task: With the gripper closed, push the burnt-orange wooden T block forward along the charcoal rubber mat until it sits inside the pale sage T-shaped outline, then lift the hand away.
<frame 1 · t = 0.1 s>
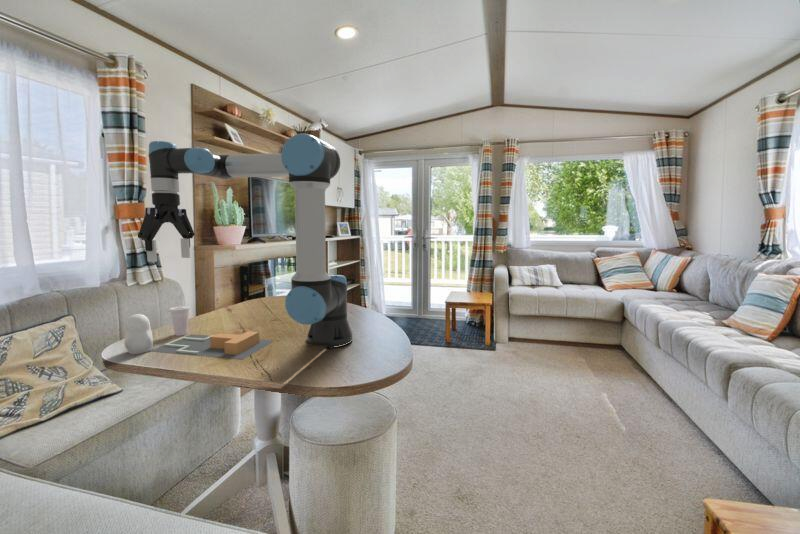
hand: (170, 259, 123), 28 cm above the table, fingers open, 13 cm apart
mat: (214, 348, 121), on the table
figurine: (140, 351, 119), on the table
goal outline: (206, 348, 122), resting on mat
t block: (242, 347, 119), point 1 cm above the table, touching mat
smoothie: (181, 334, 136), on the table
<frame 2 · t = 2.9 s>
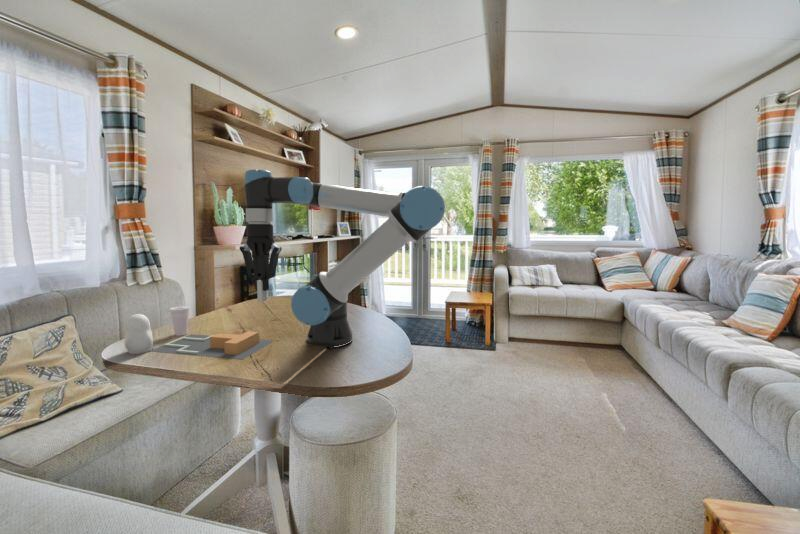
hand: (262, 300, 116), 16 cm above the table, fingers closed
nothing on the table moved.
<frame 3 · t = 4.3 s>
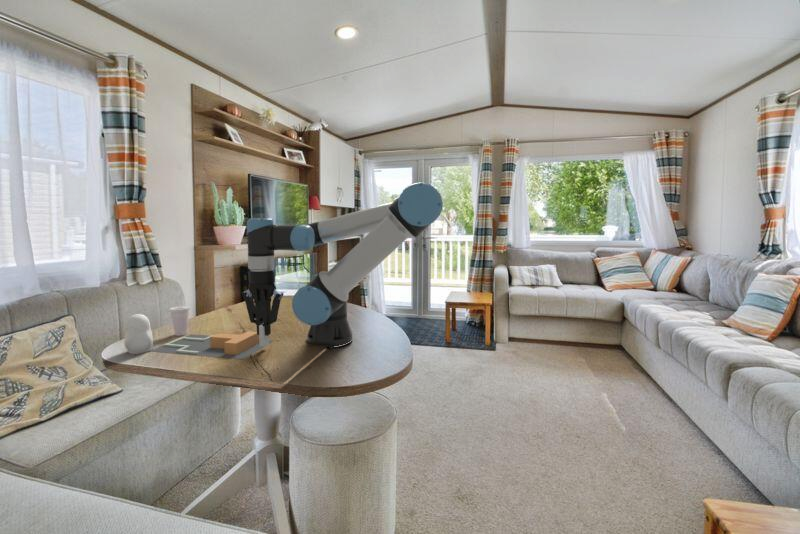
hand: (264, 345, 118), 2 cm above the table, fingers closed
nothing on the table moved.
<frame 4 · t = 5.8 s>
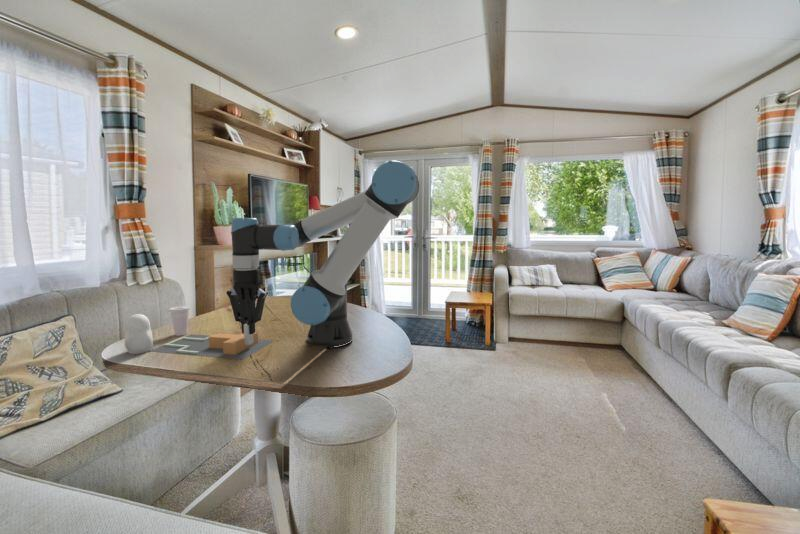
hand: (248, 343, 119), 3 cm above the table, fingers closed
t block: (241, 347, 119), point 1 cm above the table, touching gripper, mat
everything else where it was.
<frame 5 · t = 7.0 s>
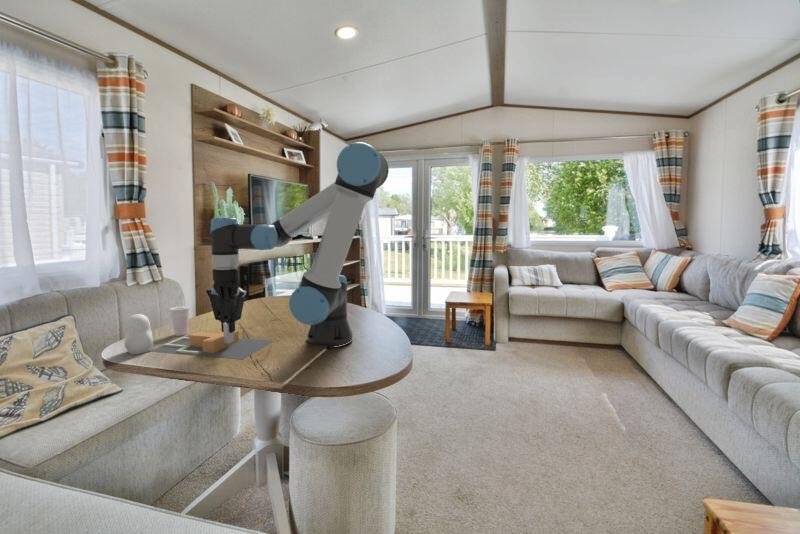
hand: (228, 342, 120), 3 cm above the table, fingers closed
t block: (221, 346, 121), point 1 cm above the table, touching gripper
everything else where it was.
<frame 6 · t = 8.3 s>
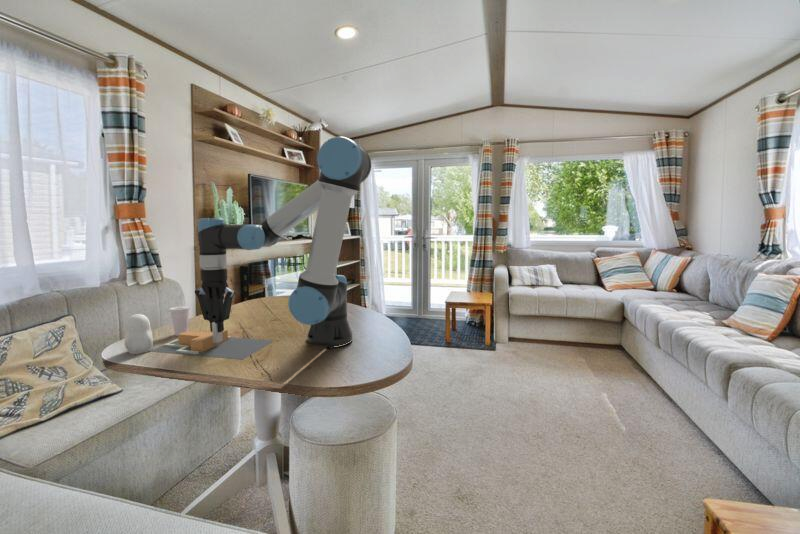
hand: (217, 341, 121), 2 cm above the table, fingers closed
t block: (210, 345, 121), point 1 cm above the table, touching gripper, mat
everything else where it was.
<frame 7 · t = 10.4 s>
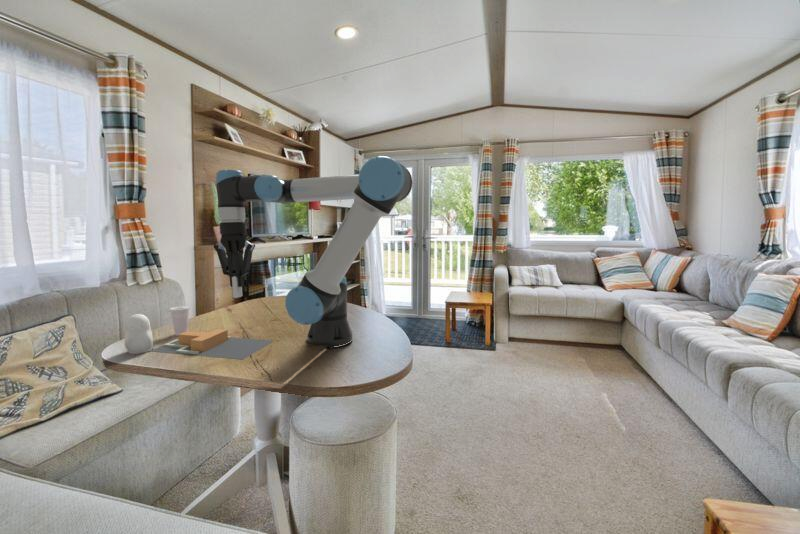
hand: (238, 296, 120), 17 cm above the table, fingers closed
t block: (210, 345, 121), point 1 cm above the table, touching mat
everything else where it was.
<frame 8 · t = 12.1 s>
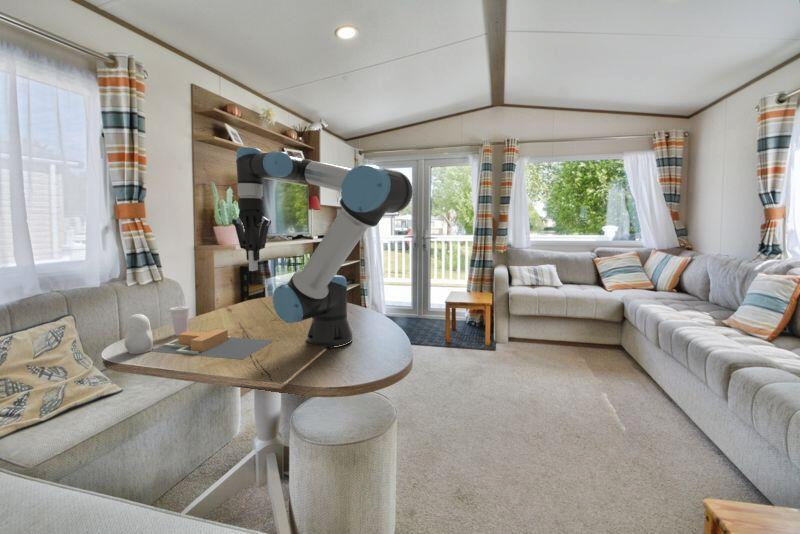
hand: (253, 270, 125), 24 cm above the table, fingers closed
nothing on the table moved.
at the end: t block 1.5 cm off-centre on the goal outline, point 1.0 cm above the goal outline's base; t block tilted 0°; t block moved 11.5 cm from its start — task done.
